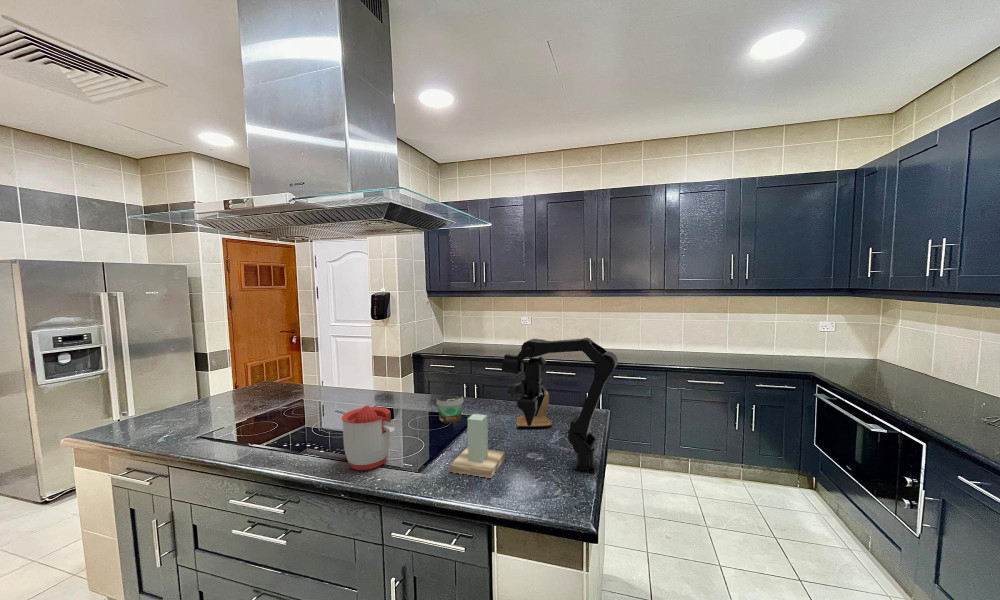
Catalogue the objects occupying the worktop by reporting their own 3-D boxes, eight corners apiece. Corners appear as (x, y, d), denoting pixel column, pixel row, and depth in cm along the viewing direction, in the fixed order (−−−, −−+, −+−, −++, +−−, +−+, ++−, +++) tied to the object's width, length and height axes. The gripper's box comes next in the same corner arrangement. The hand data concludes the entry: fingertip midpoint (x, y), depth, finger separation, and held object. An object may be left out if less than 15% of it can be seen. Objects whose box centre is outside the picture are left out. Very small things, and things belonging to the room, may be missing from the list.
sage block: (482, 462, 124) (481, 420, 123) (468, 460, 125) (467, 418, 125) (487, 456, 129) (487, 415, 128) (474, 454, 130) (473, 413, 130)
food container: (440, 426, 162) (439, 403, 162) (436, 421, 168) (436, 399, 168) (467, 421, 167) (467, 399, 167) (463, 417, 173) (462, 395, 173)
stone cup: (549, 419, 169) (548, 385, 169) (553, 429, 157) (553, 393, 157) (515, 419, 169) (514, 386, 168) (516, 430, 157) (516, 394, 156)
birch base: (491, 479, 118) (490, 471, 118) (450, 472, 123) (449, 465, 123) (504, 459, 132) (504, 452, 132) (467, 453, 136) (467, 446, 136)
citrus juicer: (383, 476, 121) (381, 414, 120) (333, 472, 124) (331, 412, 123) (404, 454, 137) (402, 399, 136) (359, 451, 139) (357, 397, 138)
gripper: (516, 368, 142) (517, 409, 143) (501, 381, 125) (501, 428, 126) (546, 370, 139) (546, 412, 140) (534, 383, 121) (535, 431, 122)
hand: (532, 420), depth 132 cm, fingers open, 9 cm apart
